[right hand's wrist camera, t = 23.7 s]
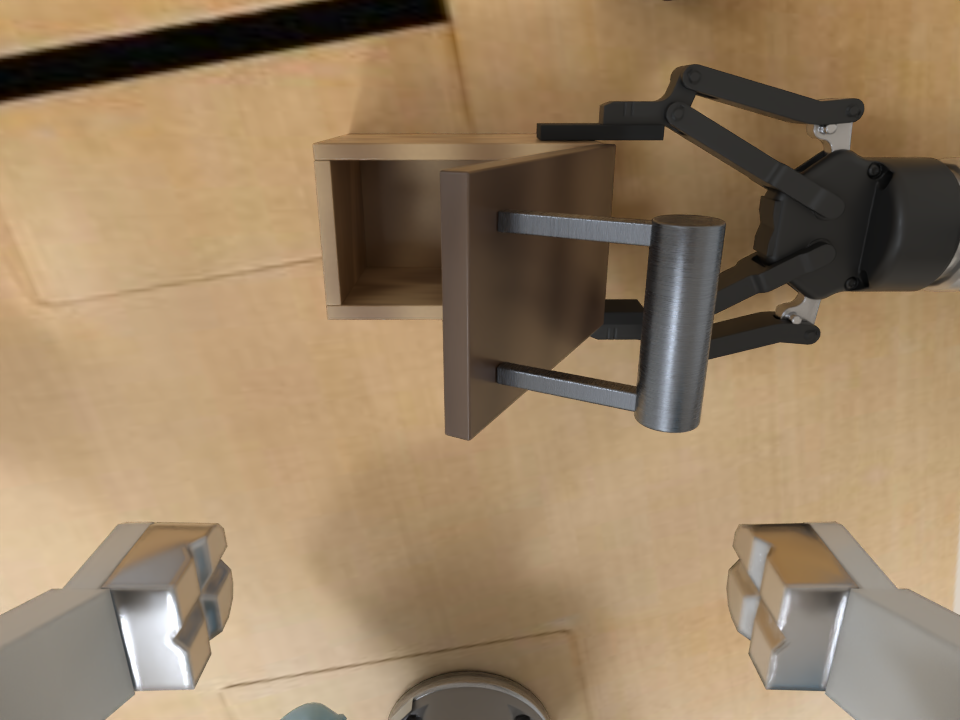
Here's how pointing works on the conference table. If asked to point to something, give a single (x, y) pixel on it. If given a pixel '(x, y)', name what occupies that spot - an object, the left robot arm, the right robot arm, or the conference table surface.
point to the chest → (395, 216)
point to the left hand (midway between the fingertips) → (535, 225)
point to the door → (565, 290)
